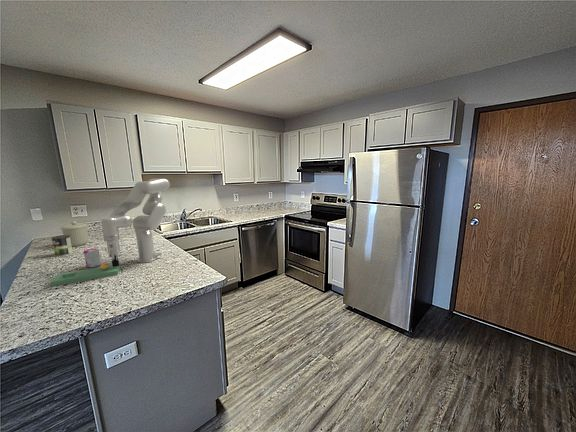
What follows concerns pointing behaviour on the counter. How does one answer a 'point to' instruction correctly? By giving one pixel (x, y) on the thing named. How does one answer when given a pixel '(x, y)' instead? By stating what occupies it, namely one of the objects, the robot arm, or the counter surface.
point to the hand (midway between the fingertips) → (116, 266)
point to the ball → (104, 266)
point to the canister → (76, 233)
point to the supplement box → (92, 258)
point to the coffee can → (62, 245)
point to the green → (84, 275)
